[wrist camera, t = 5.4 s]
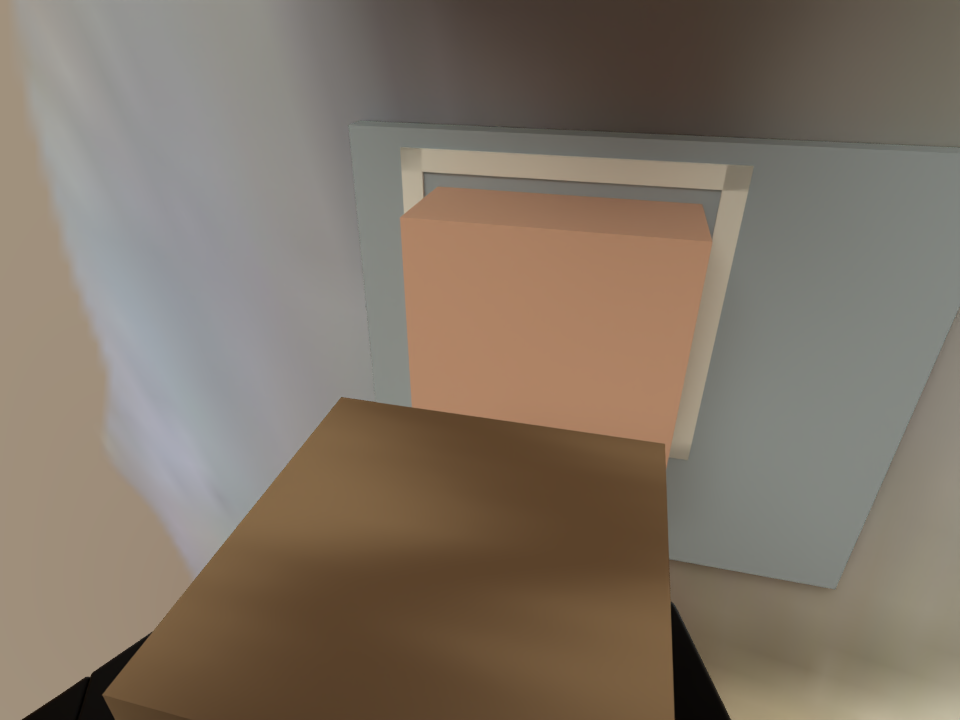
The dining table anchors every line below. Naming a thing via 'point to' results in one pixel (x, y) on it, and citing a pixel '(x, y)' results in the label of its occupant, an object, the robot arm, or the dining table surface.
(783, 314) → the grey flat slab
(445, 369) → the terracotta base
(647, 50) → the dining table surface
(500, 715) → the walnut cube
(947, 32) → the dining table surface
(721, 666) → the dining table surface
